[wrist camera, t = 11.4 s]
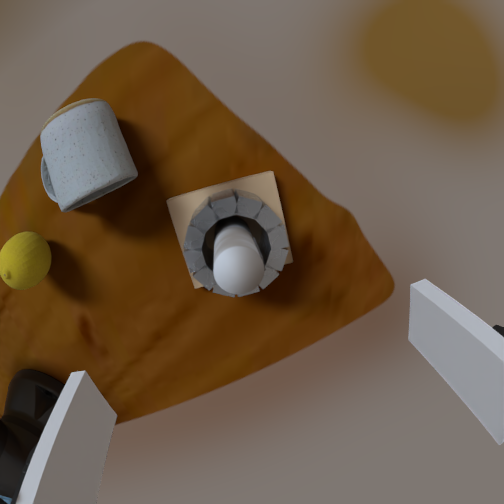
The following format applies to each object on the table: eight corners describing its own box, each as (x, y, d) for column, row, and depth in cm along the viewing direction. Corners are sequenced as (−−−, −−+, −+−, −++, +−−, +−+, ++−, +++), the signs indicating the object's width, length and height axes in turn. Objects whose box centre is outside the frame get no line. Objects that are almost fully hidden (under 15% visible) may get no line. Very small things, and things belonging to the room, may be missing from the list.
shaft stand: (195, 282, 31) (187, 345, 20) (168, 198, 27) (140, 225, 17) (289, 256, 31) (324, 309, 20) (270, 170, 28) (301, 181, 17)
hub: (204, 281, 29) (202, 306, 24) (179, 203, 26) (170, 213, 22) (283, 260, 29) (296, 281, 24) (265, 179, 26) (275, 185, 22)
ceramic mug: (118, 99, 24) (85, 85, 17) (148, 172, 26) (122, 180, 19) (38, 151, 24) (-5, 156, 17) (65, 218, 27) (26, 239, 20)
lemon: (23, 260, 27) (-15, 287, 20) (29, 216, 26) (-13, 236, 18) (59, 278, 29) (24, 311, 21) (67, 234, 27) (28, 259, 20)
